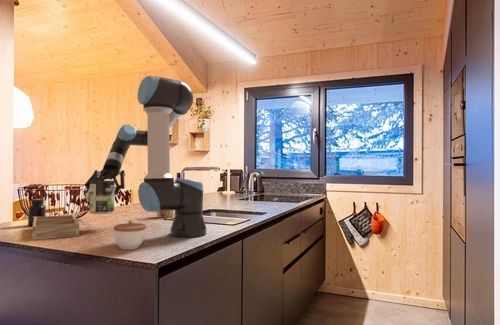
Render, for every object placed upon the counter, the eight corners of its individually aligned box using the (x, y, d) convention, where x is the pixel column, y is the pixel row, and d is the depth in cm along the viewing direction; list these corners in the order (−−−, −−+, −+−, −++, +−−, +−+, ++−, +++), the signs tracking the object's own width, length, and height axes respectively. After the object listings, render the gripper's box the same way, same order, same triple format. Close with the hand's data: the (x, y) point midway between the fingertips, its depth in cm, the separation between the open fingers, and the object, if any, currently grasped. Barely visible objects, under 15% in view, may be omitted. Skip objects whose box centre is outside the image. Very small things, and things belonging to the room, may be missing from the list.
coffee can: (119, 211, 162) (119, 180, 162) (105, 214, 152) (105, 181, 152) (98, 211, 164) (99, 180, 165) (84, 213, 154) (84, 181, 154)
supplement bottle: (32, 227, 161) (33, 200, 161) (25, 225, 164) (25, 199, 164) (48, 225, 167) (48, 199, 167) (40, 223, 170) (40, 198, 170)
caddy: (78, 236, 144) (79, 223, 144) (32, 239, 136) (32, 226, 136) (74, 225, 166) (74, 215, 166) (33, 228, 158) (34, 217, 158)
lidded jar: (132, 252, 120) (132, 224, 120) (106, 249, 123) (107, 222, 123) (151, 245, 130) (152, 219, 130) (127, 243, 133) (127, 217, 133)
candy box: (173, 216, 201) (173, 188, 201) (173, 217, 197) (174, 189, 197) (157, 216, 199) (157, 188, 199) (156, 217, 195) (157, 189, 195)
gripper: (138, 169, 174) (127, 205, 158) (92, 169, 174) (76, 205, 158) (135, 158, 169) (123, 194, 153) (87, 158, 169) (70, 193, 153)
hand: (99, 199), depth 155 cm, fingers closed on coffee can, 10 cm apart
